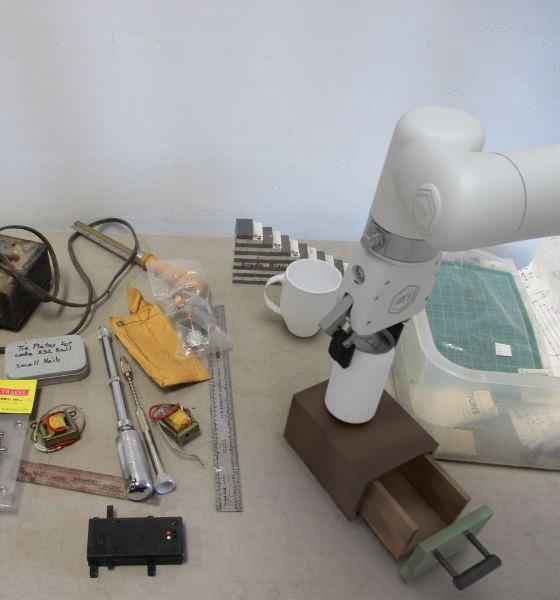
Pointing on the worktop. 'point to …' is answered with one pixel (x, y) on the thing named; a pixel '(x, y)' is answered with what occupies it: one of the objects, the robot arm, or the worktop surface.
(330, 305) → the mug
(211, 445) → the worktop surface
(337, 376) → the can
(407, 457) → the cabinet
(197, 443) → the worktop surface
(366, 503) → the drawer
